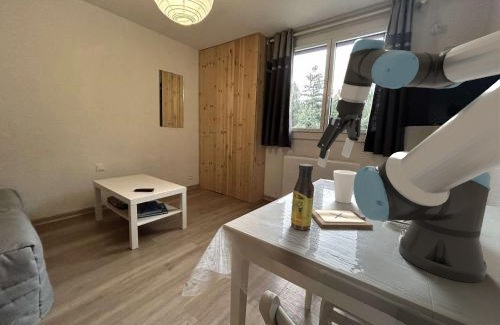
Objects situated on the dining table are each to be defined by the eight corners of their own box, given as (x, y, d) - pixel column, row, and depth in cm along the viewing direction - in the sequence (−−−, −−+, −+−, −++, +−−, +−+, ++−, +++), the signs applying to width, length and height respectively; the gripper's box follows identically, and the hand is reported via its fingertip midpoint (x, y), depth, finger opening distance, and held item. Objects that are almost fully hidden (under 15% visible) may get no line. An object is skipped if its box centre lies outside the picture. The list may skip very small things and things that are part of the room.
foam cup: (358, 204, 88) (361, 174, 87) (336, 204, 89) (338, 173, 87) (348, 198, 98) (351, 170, 96) (328, 197, 98) (330, 169, 96)
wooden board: (372, 228, 66) (373, 222, 66) (322, 228, 65) (322, 221, 65) (351, 213, 79) (352, 207, 78) (309, 212, 78) (309, 206, 78)
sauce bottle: (286, 224, 68) (290, 163, 65) (303, 221, 70) (306, 162, 67) (298, 233, 61) (302, 166, 59) (315, 230, 64) (320, 165, 61)
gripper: (362, 93, 71) (344, 148, 82) (314, 100, 59) (300, 165, 69) (385, 98, 66) (363, 157, 77) (338, 107, 53) (319, 176, 64)
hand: (333, 161), depth 73 cm, fingers open, 13 cm apart
